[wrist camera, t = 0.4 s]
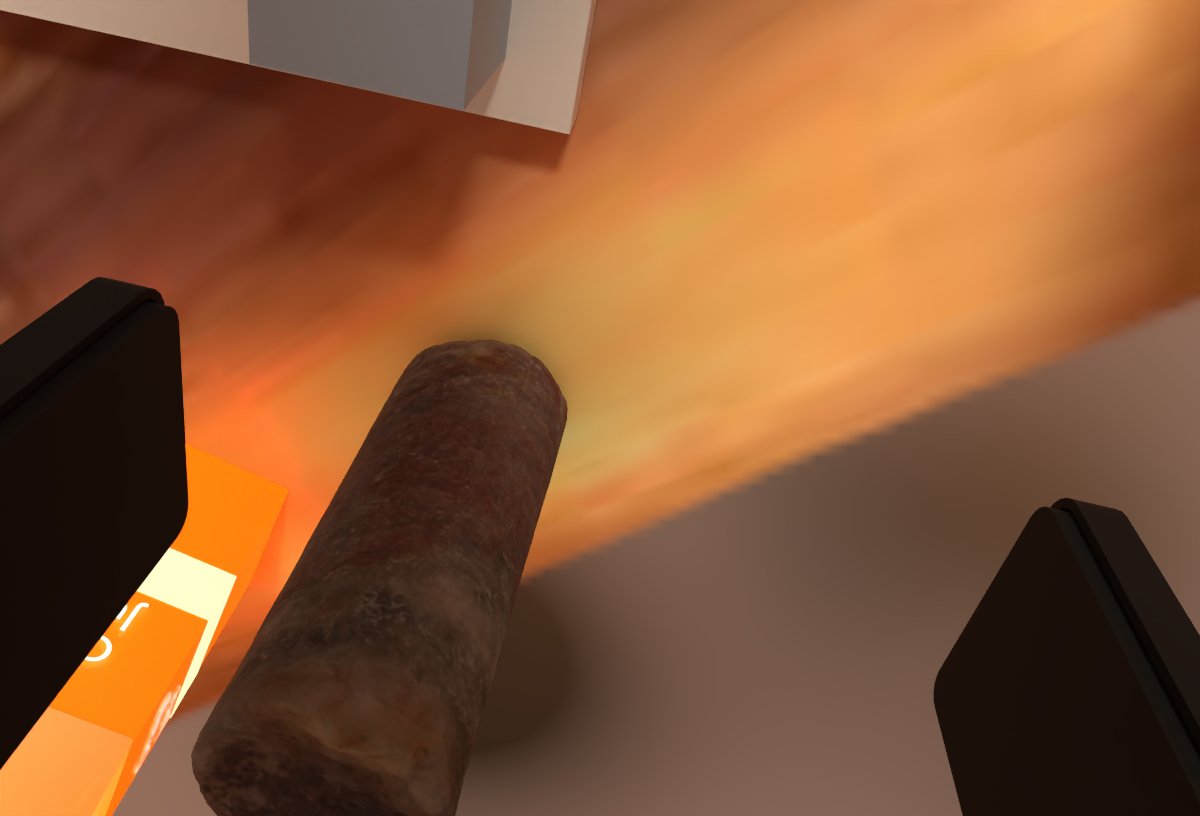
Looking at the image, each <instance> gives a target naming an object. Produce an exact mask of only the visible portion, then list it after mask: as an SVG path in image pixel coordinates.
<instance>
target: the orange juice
mask: <svg viewBox="0 0 1200 816" xmlns="http://www.w3.org/2000/svg"><path fill="white" fill-rule="evenodd" d="M185 445H186V463H187V481H188V500H189V504H188V513H187V517H186V521H185V524H184V526H183V528H182V530H181V532H180V534H179V536H178V537H177V539H176V540H175V541H174V543H173V544H172V545H171V546H170V548H169V549H168V550H167V552H166V553H165V554H164V556H163V557H162V558H161V560H160V561H159V562H158V564H157V565H156V566H155V568H154V569H153V570H152V571H151V573H150V574H149V575H148V577H147V578H146V579H145V581H144V582H143V583H142V585H141V586H140V587H139V589H138V590H137V591H136V593H135V594H134V595H133V596H132V598H131V599H130V600H129V602H128V603H127V604H126V606H125V607H124V608H123V610H122V611H121V612H120V614H119V615H118V616H117V618H116V619H115V620H114V621H113V623H112V624H111V625H110V627H109V628H108V629H107V631H106V632H105V633H104V635H103V636H102V637H101V639H100V640H99V641H98V642H97V644H96V645H95V646H94V648H93V649H92V650H91V652H90V653H89V654H88V656H87V657H86V658H85V660H84V661H83V662H82V664H81V665H80V666H79V667H78V669H77V670H76V671H75V673H74V674H73V675H72V677H71V678H70V679H69V681H68V682H67V683H66V685H65V686H64V687H63V689H62V690H61V691H60V692H59V694H58V695H57V696H56V698H55V699H54V700H53V702H52V703H51V704H50V706H49V707H48V708H47V710H46V711H45V712H44V714H43V715H42V716H41V717H40V719H39V720H38V721H37V723H36V724H35V725H34V727H33V728H32V729H31V731H30V732H29V733H28V735H27V736H26V737H25V739H24V740H23V741H22V742H21V744H20V745H19V746H18V748H17V749H16V750H15V752H14V753H13V754H12V756H11V757H10V758H9V760H8V761H7V762H6V764H5V765H4V766H3V767H2V769H1V770H0V816H112V814H113V813H114V811H115V809H116V808H117V806H118V804H119V803H120V801H121V799H122V798H123V796H124V794H125V793H126V791H127V789H128V787H129V786H130V784H131V782H132V781H133V779H134V777H135V776H136V774H137V772H138V770H139V769H140V767H141V765H142V764H143V762H144V761H145V759H146V757H147V755H148V754H149V752H150V750H151V749H152V747H153V745H154V744H155V742H156V740H157V739H158V737H159V735H160V734H161V732H162V730H163V729H164V727H165V725H166V724H167V722H168V720H169V719H170V718H171V717H172V715H173V714H174V712H175V710H176V709H177V707H178V705H179V704H180V702H181V700H182V699H183V697H184V695H185V694H186V692H187V690H188V688H189V687H190V685H191V683H192V682H193V680H194V678H195V677H196V675H197V673H198V671H199V668H200V666H201V665H202V663H203V661H204V660H205V658H206V656H207V655H208V653H209V651H210V650H211V648H212V646H213V644H214V643H215V641H216V639H217V638H218V636H219V634H220V633H221V631H222V629H223V628H224V626H225V624H226V623H227V621H228V619H229V618H230V616H231V614H232V613H233V611H234V609H235V607H236V606H237V604H238V602H239V601H240V599H241V597H242V596H243V594H244V592H245V591H246V589H247V587H248V586H249V584H250V582H251V579H252V577H253V575H254V572H255V570H256V568H257V565H258V563H259V560H260V558H261V556H262V553H263V551H264V549H265V546H266V544H267V541H268V539H269V537H270V534H271V532H272V530H273V527H274V525H275V523H276V520H277V518H278V515H279V513H280V511H281V508H282V506H283V504H284V501H285V499H286V496H287V494H288V492H289V490H288V489H286V488H284V487H282V486H279V485H277V484H275V483H273V482H270V481H268V480H266V479H264V478H262V477H259V476H257V475H255V474H253V473H250V472H248V471H246V470H244V469H241V468H239V467H237V466H235V465H232V464H230V463H228V462H226V461H223V460H221V459H219V458H217V457H215V456H212V455H210V454H208V453H206V452H203V451H201V450H199V449H197V448H194V447H192V446H190V445H188V444H185Z"/></svg>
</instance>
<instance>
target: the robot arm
mask: <svg viewBox="0 0 1200 816" xmlns="http://www.w3.org/2000/svg"><path fill="white" fill-rule="evenodd" d="M188 504H189V500H188V481H187V463H186V445H185V426H184V408H183V390H182V371H181V353H180V335H179V321H178V315H177V313H176V311H175V309H173V308H172V307H170V306H165V305H164V300H163V298H162V296H161V294H160V293H159V292H158V291H157V290H156V289H152V288H148V287H143V286H139V285H135V284H130V283H126V282H122V281H117V280H113V279H108V278H103V277H97V278H95V279H93V280H91V281H89V282H88V283H86V284H85V285H84V286H82V287H81V288H79V289H78V290H77V291H75V292H74V293H72V294H71V295H70V296H68V297H67V298H65V299H64V300H63V301H61V302H60V303H58V304H57V305H56V306H54V307H53V308H51V309H50V310H49V311H47V312H46V313H44V314H43V315H42V316H40V317H39V318H38V319H36V320H35V321H33V322H32V323H31V324H29V325H28V326H26V327H25V328H24V329H22V330H21V331H19V332H18V333H17V334H15V335H14V336H12V337H11V338H10V339H8V340H7V341H5V342H4V343H3V344H1V345H0V770H1V769H2V767H3V766H4V765H5V764H6V762H7V761H8V760H9V758H10V757H11V756H12V754H13V753H14V752H15V750H16V749H17V748H18V746H19V745H20V744H21V742H22V741H23V740H24V739H25V737H26V736H27V735H28V733H29V732H30V731H31V729H32V728H33V727H34V725H35V724H36V723H37V721H38V720H39V719H40V717H41V716H42V715H43V714H44V712H45V711H46V710H47V708H48V707H49V706H50V704H51V703H52V702H53V700H54V699H55V698H56V696H57V695H58V694H59V692H60V691H61V690H62V689H63V687H64V686H65V685H66V683H67V682H68V681H69V679H70V678H71V677H72V675H73V674H74V673H75V671H76V670H77V669H78V667H79V666H80V665H81V664H82V662H83V661H84V660H85V658H86V657H87V656H88V654H89V653H90V652H91V650H92V649H93V648H94V646H95V645H96V644H97V642H98V641H99V640H100V639H101V637H102V636H103V635H104V633H105V632H106V631H107V629H108V628H109V627H110V625H111V624H112V623H113V621H114V620H115V619H116V618H117V616H118V615H119V614H120V612H121V611H122V610H123V608H124V607H125V606H126V604H127V603H128V602H129V600H130V599H131V598H132V596H133V595H134V594H135V593H136V591H137V590H138V589H139V587H140V586H141V585H142V583H143V582H144V581H145V579H146V578H147V577H148V575H149V574H150V573H151V571H152V570H153V569H154V568H155V566H156V565H157V564H158V562H159V561H160V560H161V558H162V557H163V556H164V554H165V553H166V552H167V550H168V549H169V548H170V546H171V545H172V544H173V543H174V541H175V540H176V539H177V537H178V536H179V534H180V532H181V530H182V528H183V526H184V524H185V521H186V517H187V513H188ZM934 704H935V709H936V713H937V717H938V721H939V725H940V729H941V732H942V736H943V740H944V744H945V748H946V752H947V756H948V760H949V764H950V768H951V772H952V775H953V779H954V783H955V787H956V791H957V795H958V798H959V802H960V806H961V810H962V814H963V816H1200V635H1199V634H1198V632H1197V630H1196V629H1195V627H1194V625H1193V624H1192V622H1191V621H1190V619H1189V617H1188V616H1187V614H1186V612H1185V611H1184V609H1183V608H1182V606H1181V604H1180V603H1179V601H1178V599H1177V598H1176V596H1175V594H1174V593H1173V591H1172V590H1171V588H1170V586H1169V585H1168V583H1167V581H1166V580H1165V578H1164V576H1163V575H1162V573H1161V571H1160V570H1159V568H1158V567H1157V565H1156V563H1155V562H1154V560H1153V558H1152V557H1151V555H1150V554H1149V552H1148V550H1147V549H1146V547H1145V545H1144V544H1143V542H1142V541H1141V539H1140V537H1139V536H1138V534H1137V532H1136V531H1135V529H1134V527H1133V526H1132V524H1131V522H1130V521H1129V519H1128V518H1127V517H1126V515H1125V514H1124V513H1123V512H1122V511H1119V510H1117V509H1113V508H1109V507H1105V506H1100V505H1096V504H1091V503H1087V502H1082V501H1078V500H1074V499H1069V498H1064V499H1060V500H1058V501H1057V502H1055V503H1054V504H1053V505H1052V506H1051V507H1050V508H1049V507H1041V508H1039V509H1038V510H1037V511H1035V512H1034V514H1033V515H1032V516H1031V518H1030V519H1029V521H1028V523H1027V524H1026V526H1025V528H1024V529H1023V531H1022V533H1021V535H1020V536H1019V538H1018V540H1017V541H1016V543H1015V545H1014V546H1013V548H1012V550H1011V552H1010V553H1009V555H1008V556H1007V558H1006V560H1005V561H1004V563H1003V565H1002V566H1001V568H1000V570H999V571H998V573H997V575H996V577H995V578H994V580H993V581H992V583H991V585H990V586H989V588H988V590H987V591H986V593H985V595H984V597H983V598H982V600H981V601H980V603H979V605H978V607H977V608H976V610H975V612H974V613H973V615H972V617H971V618H970V620H969V622H968V623H967V625H966V627H965V628H964V630H963V632H962V633H961V635H960V637H959V638H958V640H957V642H956V643H955V645H954V647H953V648H952V650H951V652H950V653H949V655H948V657H947V658H946V660H945V662H944V664H943V665H942V667H941V668H940V670H939V672H938V675H937V678H936V681H935V686H934Z"/></svg>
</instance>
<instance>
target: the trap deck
mask: <svg viewBox="0 0 1200 816" xmlns="http://www.w3.org/2000/svg"><path fill="white" fill-rule="evenodd" d="M596 1H597V0H512V6H511V14H510V23H509V31H508V39H507V47H506V56H505V60H504V61H503V62H502V64H501V65H500V66H499V67H498V68H497V70H496V71H495V72H494V73H493V75H492V76H491V77H490V78H489V80H488V81H487V82H486V83H485V85H484V86H483V87H482V88H481V90H480V91H479V92H478V93H477V94H476V96H475V97H474V98H473V99H472V101H471V102H470V103H469V104H468V106H467V107H466V108H465V109H464V111H465V112H469V113H474V114H478V115H483V116H487V117H492V118H497V119H501V120H506V121H510V122H515V123H520V124H524V125H529V126H533V127H538V128H542V129H547V130H552V131H556V132H561V133H565V134H570V132H571V130H572V127H573V125H574V123H575V120H576V118H577V113H578V107H579V101H580V95H581V90H582V84H583V78H584V72H585V66H586V60H587V54H588V48H589V42H590V36H591V31H592V25H593V19H594V13H595V7H596ZM0 10H2V11H7V12H12V13H16V14H21V15H25V16H30V17H35V18H39V19H44V20H48V21H53V22H57V23H62V24H67V25H71V26H76V27H80V28H85V29H89V30H94V31H99V32H103V33H108V34H112V35H117V36H121V37H126V38H131V39H135V40H140V41H144V42H149V43H153V44H158V45H163V46H167V47H172V48H176V49H181V50H186V51H190V52H195V53H199V54H204V55H208V56H213V57H218V58H222V59H227V60H231V61H236V62H240V63H245V64H249V34H248V4H247V0H0ZM250 65H253V64H250ZM254 66H257V65H254ZM259 67H262V66H259ZM263 68H266V67H263ZM268 69H271V68H268ZM272 70H275V69H272ZM277 71H280V70H277ZM282 72H285V71H282ZM286 73H289V72H286ZM291 74H294V73H291ZM295 75H298V74H295ZM300 76H303V75H300ZM304 77H307V76H304ZM309 78H312V77H309ZM314 79H317V78H314ZM318 80H321V79H318ZM323 81H326V80H323ZM327 82H330V81H327ZM332 83H335V82H332ZM336 84H340V83H336ZM341 85H344V84H341ZM346 86H349V85H346ZM350 87H353V86H350ZM355 88H358V87H355ZM359 89H362V88H359ZM364 90H367V89H364ZM369 91H372V90H369ZM373 92H376V91H373ZM378 93H381V92H378ZM382 94H385V93H382ZM387 95H390V94H387ZM391 96H394V95H391ZM396 97H399V96H396ZM401 98H404V97H401ZM405 99H408V98H405ZM410 100H413V99H410ZM414 101H417V100H414ZM419 102H422V101H419ZM423 103H426V102H423ZM428 104H431V103H428ZM433 105H436V104H433ZM437 106H440V105H437ZM442 107H445V106H442ZM446 108H449V107H446ZM451 109H454V108H451ZM455 110H458V109H455ZM460 111H463V110H460Z"/></svg>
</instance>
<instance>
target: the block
mask: <svg viewBox="0 0 1200 816" xmlns="http://www.w3.org/2000/svg"><path fill="white" fill-rule="evenodd" d="M247 4H248V34H249V64H253V65H257V66H262V67H266V68H271V69H275V70H280V71H285V72H289V73H294V74H298V75H303V76H307V77H312V78H317V79H321V80H326V81H330V82H335V83H340V84H344V85H349V86H353V87H358V88H362V89H367V90H372V91H376V92H381V93H385V94H390V95H394V96H399V97H404V98H408V99H413V100H417V101H422V102H426V103H431V104H436V105H440V106H445V107H449V108H454V109H458V110H463V111H464V109H465V108H466V107H467V106H468V104H469V103H470V102H471V101H472V99H473V98H474V97H475V96H476V94H477V93H478V92H479V91H480V90H481V88H482V87H483V86H484V85H485V83H486V82H487V81H488V80H489V78H490V77H491V76H492V75H493V73H494V72H495V71H496V70H497V68H498V67H499V66H500V65H501V64H502V62H503V61H504V60H505V56H506V47H507V39H508V31H509V23H510V14H511V6H512V0H247Z"/></svg>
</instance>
